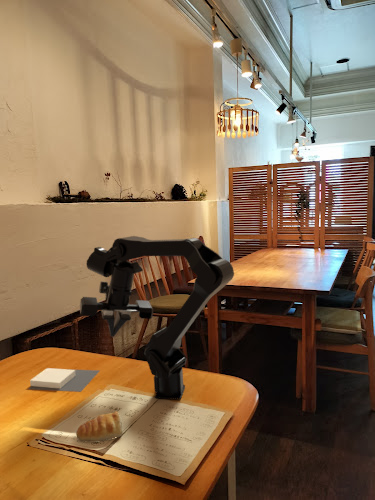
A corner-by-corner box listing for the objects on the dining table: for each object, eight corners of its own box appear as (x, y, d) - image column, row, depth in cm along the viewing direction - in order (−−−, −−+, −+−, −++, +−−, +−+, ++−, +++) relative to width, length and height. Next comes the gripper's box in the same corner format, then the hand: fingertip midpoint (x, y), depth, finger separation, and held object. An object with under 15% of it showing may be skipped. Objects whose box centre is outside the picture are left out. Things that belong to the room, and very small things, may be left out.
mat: (100, 372, 107) (99, 370, 107) (81, 393, 95) (80, 391, 95) (52, 370, 110) (52, 368, 110) (28, 391, 98) (28, 389, 98)
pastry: (77, 450, 74) (76, 432, 73) (76, 431, 80) (74, 414, 80) (124, 438, 77) (123, 420, 76) (119, 420, 83) (118, 404, 83)
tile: (75, 370, 104) (47, 368, 106) (59, 382, 97) (30, 380, 99) (75, 375, 104) (47, 373, 107) (60, 388, 97) (30, 386, 99)
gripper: (149, 274, 107) (139, 322, 111) (82, 268, 101) (75, 320, 105) (158, 290, 97) (147, 342, 101) (85, 285, 91) (76, 341, 95)
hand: (112, 336), depth 101 cm, fingers closed
